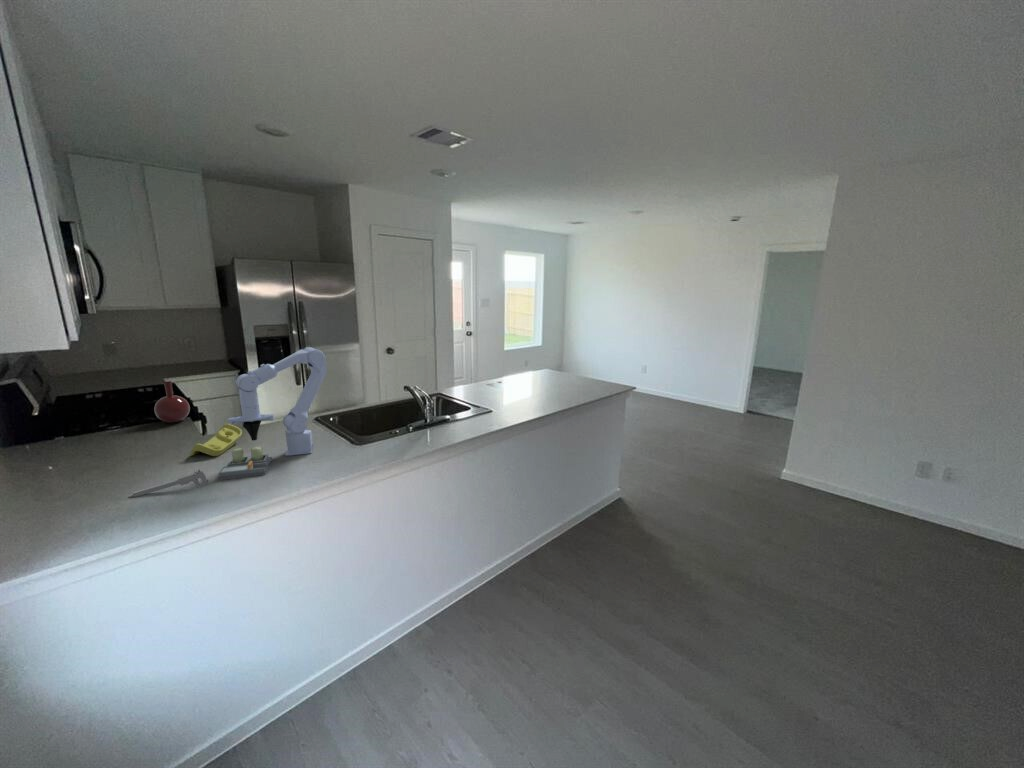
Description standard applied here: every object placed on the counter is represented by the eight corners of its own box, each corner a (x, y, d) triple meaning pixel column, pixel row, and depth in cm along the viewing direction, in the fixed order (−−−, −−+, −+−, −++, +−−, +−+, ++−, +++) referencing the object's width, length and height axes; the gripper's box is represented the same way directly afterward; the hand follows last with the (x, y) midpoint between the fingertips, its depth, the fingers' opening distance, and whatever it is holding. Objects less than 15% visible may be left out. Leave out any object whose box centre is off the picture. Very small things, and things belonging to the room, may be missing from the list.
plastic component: (219, 452, 158) (192, 442, 155) (214, 466, 159) (187, 457, 157) (246, 430, 176) (223, 421, 174) (241, 444, 178) (218, 435, 176)
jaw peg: (235, 462, 151) (233, 448, 150) (246, 461, 152) (244, 447, 151) (232, 466, 148) (230, 452, 147) (243, 465, 149) (241, 451, 148)
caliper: (207, 484, 138) (204, 468, 136) (206, 486, 137) (203, 469, 135) (129, 496, 129) (125, 479, 127) (128, 498, 128) (124, 480, 126)
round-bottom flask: (181, 425, 190) (174, 385, 185) (150, 426, 187) (142, 385, 183) (197, 417, 202) (191, 378, 198) (168, 417, 200) (160, 379, 195)
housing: (272, 459, 158) (270, 443, 156) (264, 474, 145) (262, 457, 144) (230, 463, 153) (228, 447, 151) (219, 479, 141) (216, 461, 139)
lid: (253, 467, 148) (252, 460, 147) (250, 471, 144) (249, 464, 144) (224, 470, 145) (223, 463, 144) (221, 474, 141) (220, 467, 141)
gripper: (273, 401, 156) (277, 433, 159) (230, 404, 151) (235, 437, 154) (270, 406, 150) (274, 440, 153) (224, 409, 145) (230, 444, 148)
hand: (254, 439), depth 153 cm, fingers closed
